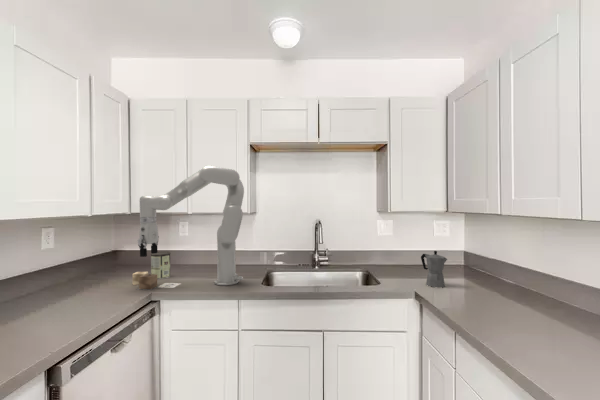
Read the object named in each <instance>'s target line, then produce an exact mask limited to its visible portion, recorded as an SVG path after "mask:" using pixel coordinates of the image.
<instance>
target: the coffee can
mask: <svg viewBox="0 0 600 400" xmlns="http://www.w3.org/2000/svg"><path fill="white" fill-rule="evenodd" d="M150 274H157V280H163V279H168V278H171V252H170V251H158V253H151V252H150Z"/></svg>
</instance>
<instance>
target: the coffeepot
mask: <svg viewBox="0 0 600 400" xmlns="http://www.w3.org/2000/svg"><path fill="white" fill-rule="evenodd" d="M420 259H421V263H422V266H423V269H424V270H428V273H427V278H426V282H425V285H426V286H427V285H428V286H427V287H429V286H432V287H431V288H435V287H442V288H444V287H445V286H446V284H445V278H444V273H443V270H444V267H445V263H446V262H447V261H448V258H446V257H445V256H443V255H440V254H438V251H437V250H434V251H433V254H427V253H422V254H421V256H420ZM425 260H426V262H425ZM426 265H427V267H426Z"/></svg>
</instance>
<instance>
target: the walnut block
mask: <svg viewBox="0 0 600 400" xmlns="http://www.w3.org/2000/svg"><path fill="white" fill-rule="evenodd" d="M157 286H158V279H157V274H151V273H150V274H149V273H148V274H145V275H143V276H140V277H139V285H138V287H139V289H153V288H155V287H157ZM157 288H158V287H157ZM155 289H156V288H155ZM153 290H154V289H153Z"/></svg>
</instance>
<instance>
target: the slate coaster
mask: <svg viewBox="0 0 600 400" xmlns="http://www.w3.org/2000/svg"><path fill="white" fill-rule="evenodd" d="M159 286H160V285H157V287H155V288H153V289H139V288H136V289H135V290H136V291H137V290H139V291H153V290H155V289H157V288H160V287H159Z"/></svg>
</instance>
